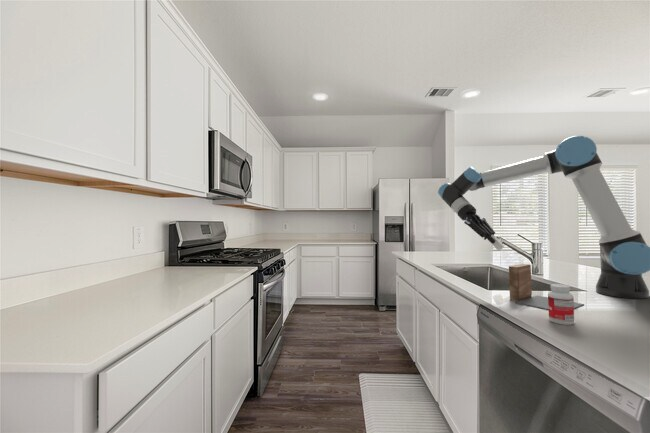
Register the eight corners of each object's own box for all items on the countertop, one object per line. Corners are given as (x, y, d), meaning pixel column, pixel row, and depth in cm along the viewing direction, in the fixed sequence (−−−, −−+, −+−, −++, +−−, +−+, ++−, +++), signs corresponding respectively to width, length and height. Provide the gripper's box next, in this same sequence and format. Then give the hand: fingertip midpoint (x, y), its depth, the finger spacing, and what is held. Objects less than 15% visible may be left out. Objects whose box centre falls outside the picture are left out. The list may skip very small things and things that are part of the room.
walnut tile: (532, 297, 118) (531, 264, 118) (519, 301, 113) (517, 267, 113) (523, 295, 121) (522, 263, 121) (510, 299, 116) (508, 266, 116)
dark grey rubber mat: (584, 305, 106) (584, 304, 106) (563, 313, 98) (563, 312, 98) (537, 296, 119) (537, 295, 119) (515, 303, 111) (515, 301, 111)
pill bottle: (550, 317, 95) (549, 282, 95) (575, 321, 91) (574, 285, 91) (547, 322, 91) (545, 285, 91) (573, 326, 87) (571, 288, 87)
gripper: (467, 215, 143) (503, 253, 129) (449, 215, 137) (486, 255, 122) (477, 203, 139) (516, 241, 124) (459, 203, 132) (498, 243, 117)
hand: (501, 248), depth 123 cm, fingers closed
